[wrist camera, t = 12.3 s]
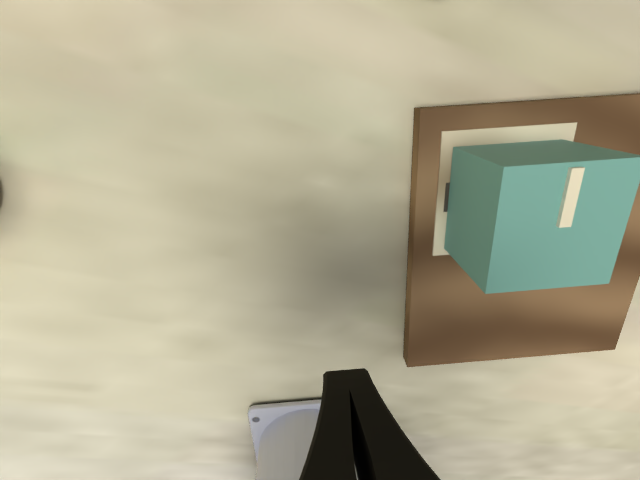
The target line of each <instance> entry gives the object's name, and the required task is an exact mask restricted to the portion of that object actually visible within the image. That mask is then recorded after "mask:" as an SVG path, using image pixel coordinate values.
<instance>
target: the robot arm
mask: <svg viewBox="0 0 640 480" xmlns="http://www.w3.org/2000/svg"><path fill="white" fill-rule="evenodd" d="M256 417H257V418H256ZM248 418H249V423H250V429H251V434H252V439H253V444H254V450H255V455H256V460H257V470H256V479H255V480H440V479H439V477H438V476H437V475H436V474H435V473H434V471H433V470H432V469H431V468H430V467H429V465H428V464H427V463H426V462H425V460H424V459H423V458H422V457H421V455H420V454H419V453H418V451H417V450H416V449H415V447H414V446H413V445H412V443H411V442H410V441H409V439H408V438H407V436H406V435H405V434H404V432H403V431H402V429H401V428H400V426H399V425H398V423H397V422H396V420H395V419H394V417H393V416H392V414H391V413H390V411H389V410H388V408H387V406H386V405H385V403H384V401H383V400H382V398H381V396H380V395H379V393H378V391H377V389H376V387H375V385H374V384H373V382H372V380H371V377H370V375H369V373H368V371H367V370H366V369H364V368H363V369H351V370H339V371H327V372H326V373H325V374H323V393H322V399H320V400H308V401H297V402H285V403H274V404H262V405H253V406H251V407H250V408H249V409H248Z"/></svg>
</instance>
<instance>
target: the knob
mask: <svg viewBox="0 0 640 480" xmlns="http://www.w3.org/2000/svg"><path fill="white" fill-rule="evenodd" d="M639 183H640V155H637V154H632V153H627V152H622V151H617V150H612V149H607V148H602V147H597V146H593V145H588V144H583V143H578V142H573V141H568V140H563V139H560V140H545V141H531V142H516V143H502V144H487V145H473V146H459V147H453V153H452V165H451V176H450V188H449V199H448V210H447V222H446V233H445V244H444V249H445V250H446V251H447V252H448V253H449V254H450V256H451V257H452V258H453V259H454V260H455V261H456V262H457V263H458V264H459V265H460V267H461V268H462V269H463V270H464V271H465V272H466V273H467V274H468V275H469V277H470V278H471V279H472V280H473V281H474V282H475V283H476V284H477V285H478V286H479V288H480V289H481V290H482V291H483V292H484V293H485V294H491V293H503V292H515V291H527V290H539V289H551V288H563V287H575V286H587V285H599V284H609V282H610V279H611V275H612V272H613V269H614V265H615V262H616V259H617V255H618V252H619V249H620V245H621V242H622V239H623V236H624V232H625V229H626V226H627V222H628V219H629V216H630V212H631V209H632V206H633V202H634V199H635V196H636V192H637V189H638V186H639Z"/></svg>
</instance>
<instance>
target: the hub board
mask: <svg viewBox="0 0 640 480" xmlns="http://www.w3.org/2000/svg"><path fill="white" fill-rule="evenodd" d="M560 139H563V140H568V141H573V142H578V143H583V144H588V145H593V146H597V147H602V148H607V149H612V150H617V151H622V152H627V153H632V154H637V155H640V93H637V94H622V95H606V96H591V97H575V98H560V99H544V100H529V101H513V102H498V103H482V104H467V105H451V106H436V107H420V108H414V129H413V152H412V174H411V197H410V219H409V241H408V264H407V286H406V309H405V331H404V354H403V357H404V360H405V362H406V365H407V367H415V366H426V365H438V364H450V363H462V362H473V361H485V360H497V359H509V358H520V357H532V356H544V355H556V354H567V353H579V352H591V351H603V350H614V349H615V347H616V344H617V341H618V339H619V336H620V333H621V330H622V327H623V324H624V321H625V318H626V315H627V312H628V309H629V306H630V303H631V300H632V297H633V294H634V291H635V288H636V285H637V282H638V279H639V276H640V183H639V186H638V189H637V192H636V196H635V199H634V202H633V206H632V209H631V212H630V216H629V219H628V222H627V226H626V229H625V232H624V236H623V239H622V242H621V245H620V249H619V252H618V255H617V259H616V262H615V265H614V269H613V272H612V275H611V279H610V282H609V284H599V285H587V286H575V287H563V288H551V289H539V290H527V291H515V292H503V293H491V294H485V293H484V292H483V291H482V290H481V289H480V288H479V286H478V285H477V284H476V283H475V282H474V281H473V280H472V279H471V278H470V277H469V275H468V274H467V273H466V272H465V271H464V270H463V269H462V268H461V267H460V265H459V264H458V263H457V262H456V261H455V260H454V259H453V258H452V257H451V256H450V254H449V253H448V252H447V251H446V250H445V249H444V244H445V233H446V222H447V210H448V199H449V188H450V176H451V165H452V153H453V147H459V146H473V145H487V144H502V143H516V142H531V141H545V140H560Z"/></svg>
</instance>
